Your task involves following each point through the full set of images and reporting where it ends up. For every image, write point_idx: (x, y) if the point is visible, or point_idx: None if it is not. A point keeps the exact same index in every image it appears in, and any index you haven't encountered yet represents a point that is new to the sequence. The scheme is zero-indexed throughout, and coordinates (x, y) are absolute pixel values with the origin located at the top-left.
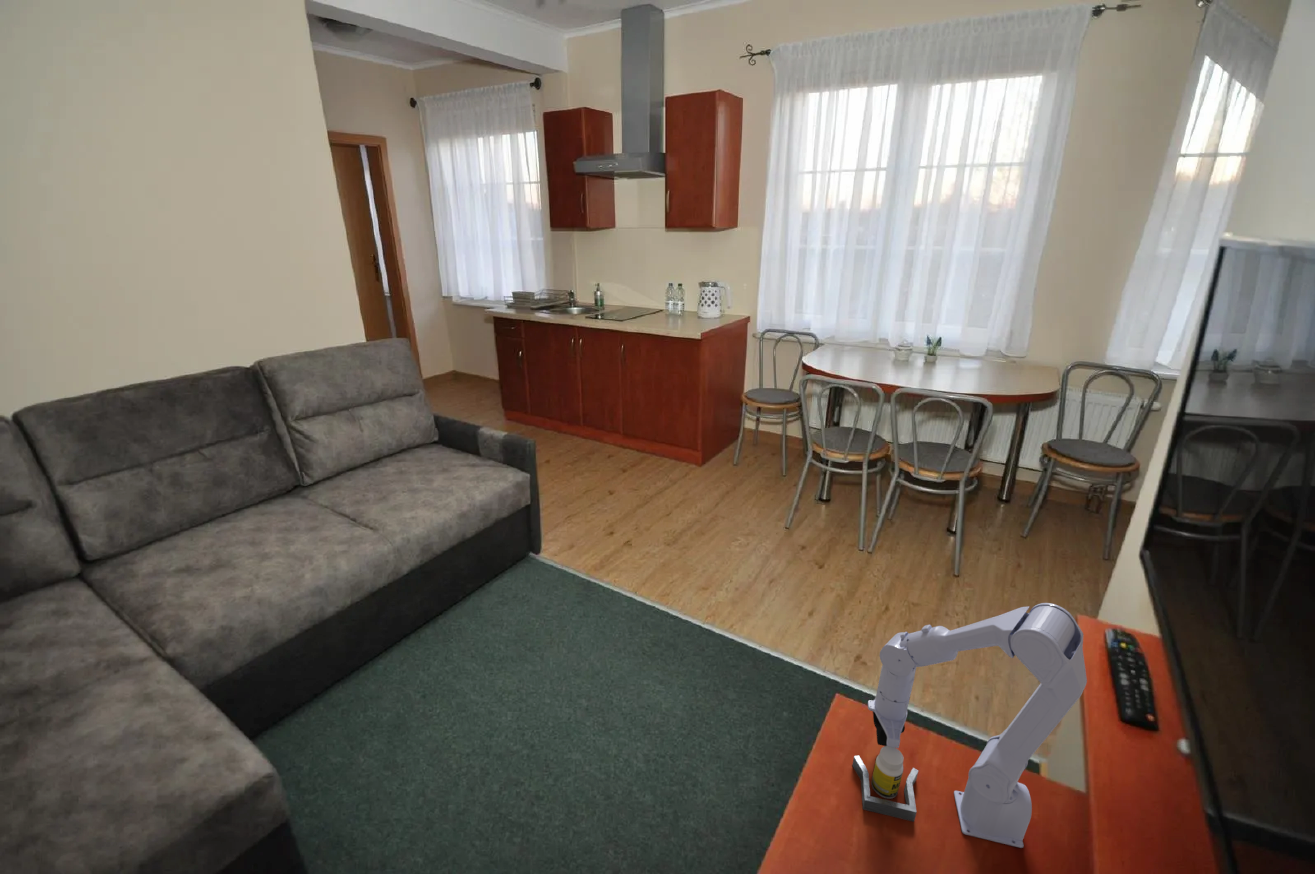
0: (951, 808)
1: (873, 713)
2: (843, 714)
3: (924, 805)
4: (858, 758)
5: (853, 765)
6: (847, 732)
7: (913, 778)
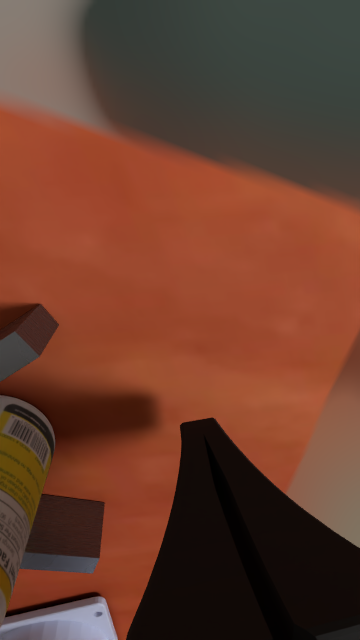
0: (41, 594)
1: (303, 635)
2: (351, 234)
3: None
4: (12, 358)
5: (27, 313)
6: (242, 263)
7: (39, 567)
